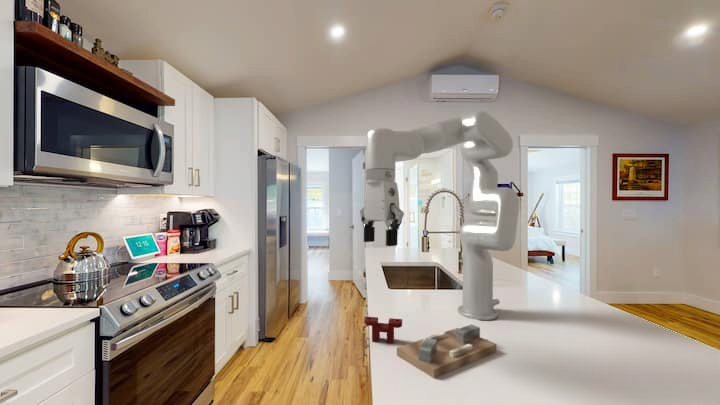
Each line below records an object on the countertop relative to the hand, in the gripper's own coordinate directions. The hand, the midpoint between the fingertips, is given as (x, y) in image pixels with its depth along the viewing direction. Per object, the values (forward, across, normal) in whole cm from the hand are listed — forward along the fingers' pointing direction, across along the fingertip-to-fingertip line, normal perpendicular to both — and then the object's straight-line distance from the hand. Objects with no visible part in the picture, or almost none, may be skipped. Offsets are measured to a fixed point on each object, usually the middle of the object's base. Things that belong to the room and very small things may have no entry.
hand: (379, 243), depth 82 cm
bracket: (+24, -2, -6) cm, 24 cm away
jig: (+26, -12, -12) cm, 31 cm away
